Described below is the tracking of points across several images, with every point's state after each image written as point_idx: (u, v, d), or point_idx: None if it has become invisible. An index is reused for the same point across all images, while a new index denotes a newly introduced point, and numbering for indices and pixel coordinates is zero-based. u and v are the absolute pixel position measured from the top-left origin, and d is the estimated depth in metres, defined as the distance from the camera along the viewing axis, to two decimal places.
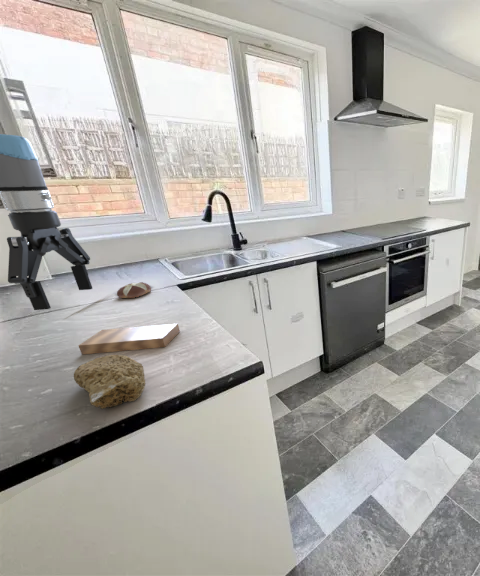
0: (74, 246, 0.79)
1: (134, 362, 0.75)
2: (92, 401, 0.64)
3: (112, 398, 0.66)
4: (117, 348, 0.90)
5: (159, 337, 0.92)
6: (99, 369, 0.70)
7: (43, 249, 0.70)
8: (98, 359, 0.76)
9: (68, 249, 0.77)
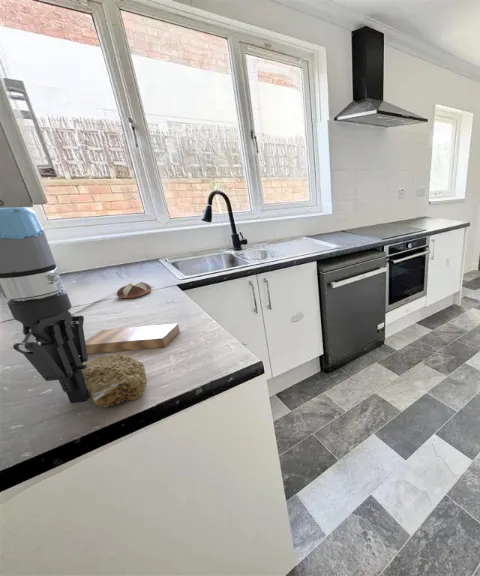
0: (77, 339, 0.64)
1: (135, 361, 0.75)
2: (94, 400, 0.65)
3: (114, 397, 0.66)
4: (117, 348, 0.90)
5: (159, 337, 0.92)
6: (100, 368, 0.70)
7: (59, 340, 0.58)
8: (99, 359, 0.76)
9: (71, 342, 0.62)
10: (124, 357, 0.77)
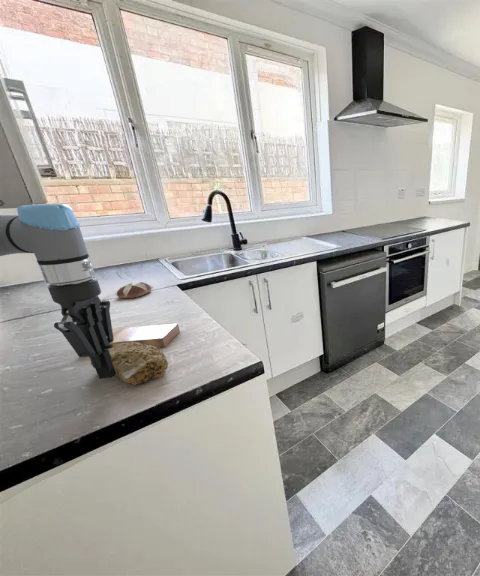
0: (105, 321, 0.71)
1: (151, 346, 0.82)
2: (126, 377, 0.72)
3: (143, 374, 0.74)
4: None
5: (159, 337, 0.92)
6: (122, 352, 0.77)
7: (90, 321, 0.66)
8: None
9: (100, 324, 0.69)
10: (137, 344, 0.83)
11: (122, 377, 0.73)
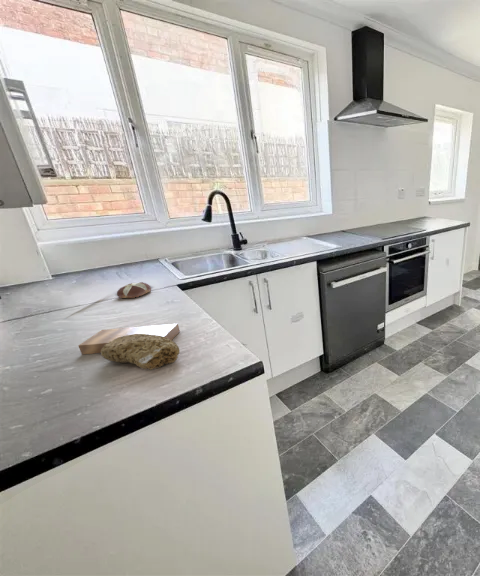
0: None
1: None
2: (144, 363, 0.78)
3: (159, 359, 0.80)
4: None
5: None
6: (134, 342, 0.82)
7: None
8: (119, 338, 0.86)
9: None
10: (144, 334, 0.88)
11: (139, 363, 0.78)
